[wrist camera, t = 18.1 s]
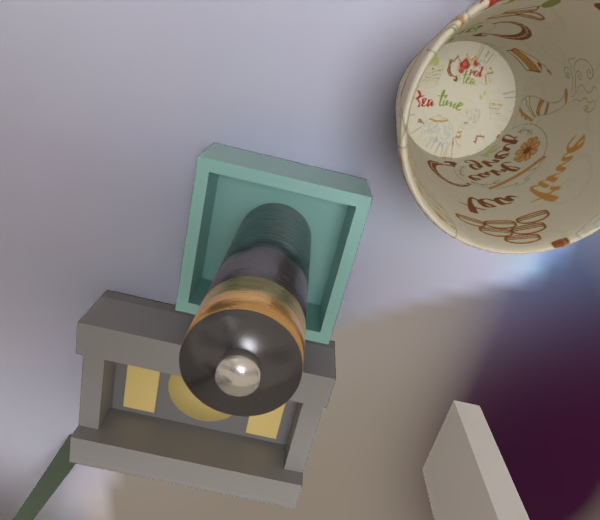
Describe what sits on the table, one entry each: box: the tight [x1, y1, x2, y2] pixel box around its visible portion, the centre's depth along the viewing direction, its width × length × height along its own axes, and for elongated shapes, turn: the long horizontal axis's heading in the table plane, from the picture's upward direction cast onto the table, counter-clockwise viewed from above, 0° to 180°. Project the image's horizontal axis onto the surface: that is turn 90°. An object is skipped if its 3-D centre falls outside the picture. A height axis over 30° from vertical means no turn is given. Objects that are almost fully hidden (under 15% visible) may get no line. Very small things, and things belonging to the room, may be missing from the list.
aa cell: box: [179, 203, 311, 416], centre depth 21 cm, size 4×4×13 cm
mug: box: [395, 0, 600, 254], centre depth 19 cm, size 8×13×10 cm, turn 176°
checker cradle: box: [69, 290, 336, 509], centre depth 30 cm, size 10×14×4 cm
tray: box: [175, 143, 372, 345], centre depth 26 cm, size 8×8×4 cm
